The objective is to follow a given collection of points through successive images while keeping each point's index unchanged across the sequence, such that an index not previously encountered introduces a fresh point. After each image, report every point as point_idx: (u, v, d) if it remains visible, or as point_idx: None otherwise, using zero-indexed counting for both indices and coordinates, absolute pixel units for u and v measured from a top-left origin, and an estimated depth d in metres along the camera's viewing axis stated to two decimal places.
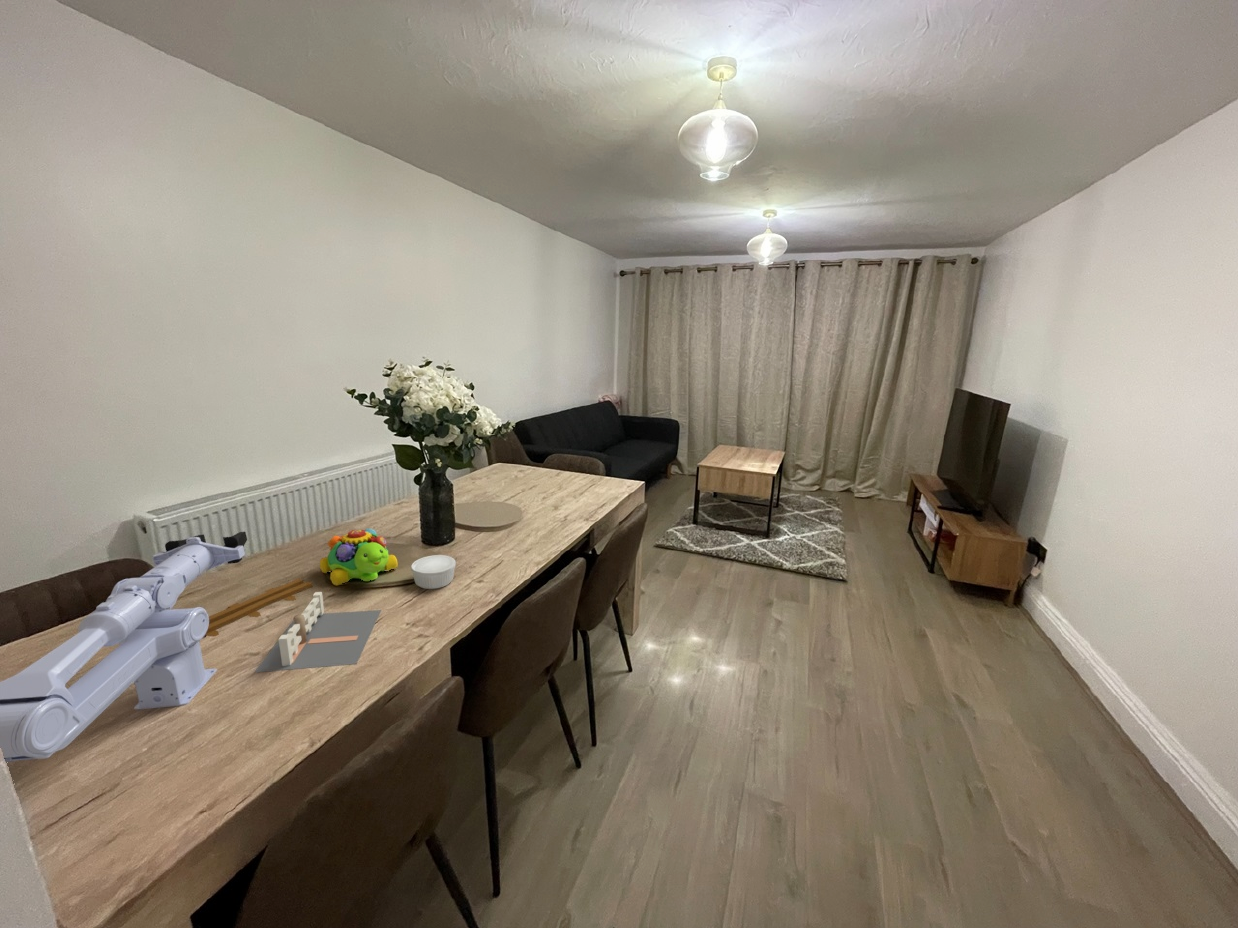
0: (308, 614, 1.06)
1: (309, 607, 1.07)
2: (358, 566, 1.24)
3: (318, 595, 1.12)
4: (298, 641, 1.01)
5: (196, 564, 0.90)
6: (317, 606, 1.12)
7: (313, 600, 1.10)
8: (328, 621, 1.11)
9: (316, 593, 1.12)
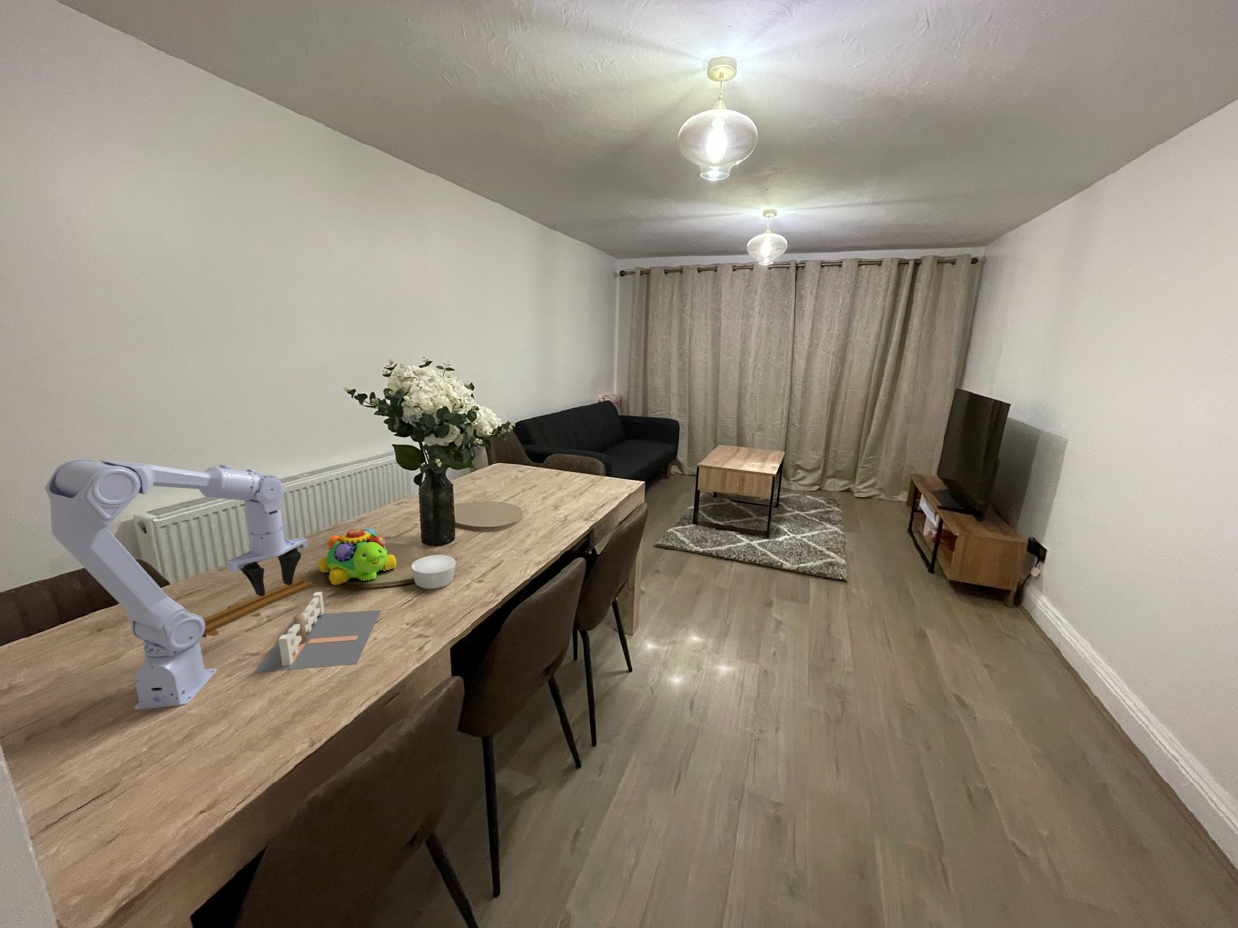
0: (308, 614, 1.06)
1: (309, 607, 1.07)
2: (357, 566, 1.24)
3: (318, 595, 1.12)
4: (298, 641, 1.01)
5: (279, 528, 1.01)
6: (317, 606, 1.12)
7: (313, 600, 1.10)
8: (328, 621, 1.11)
9: (316, 593, 1.12)
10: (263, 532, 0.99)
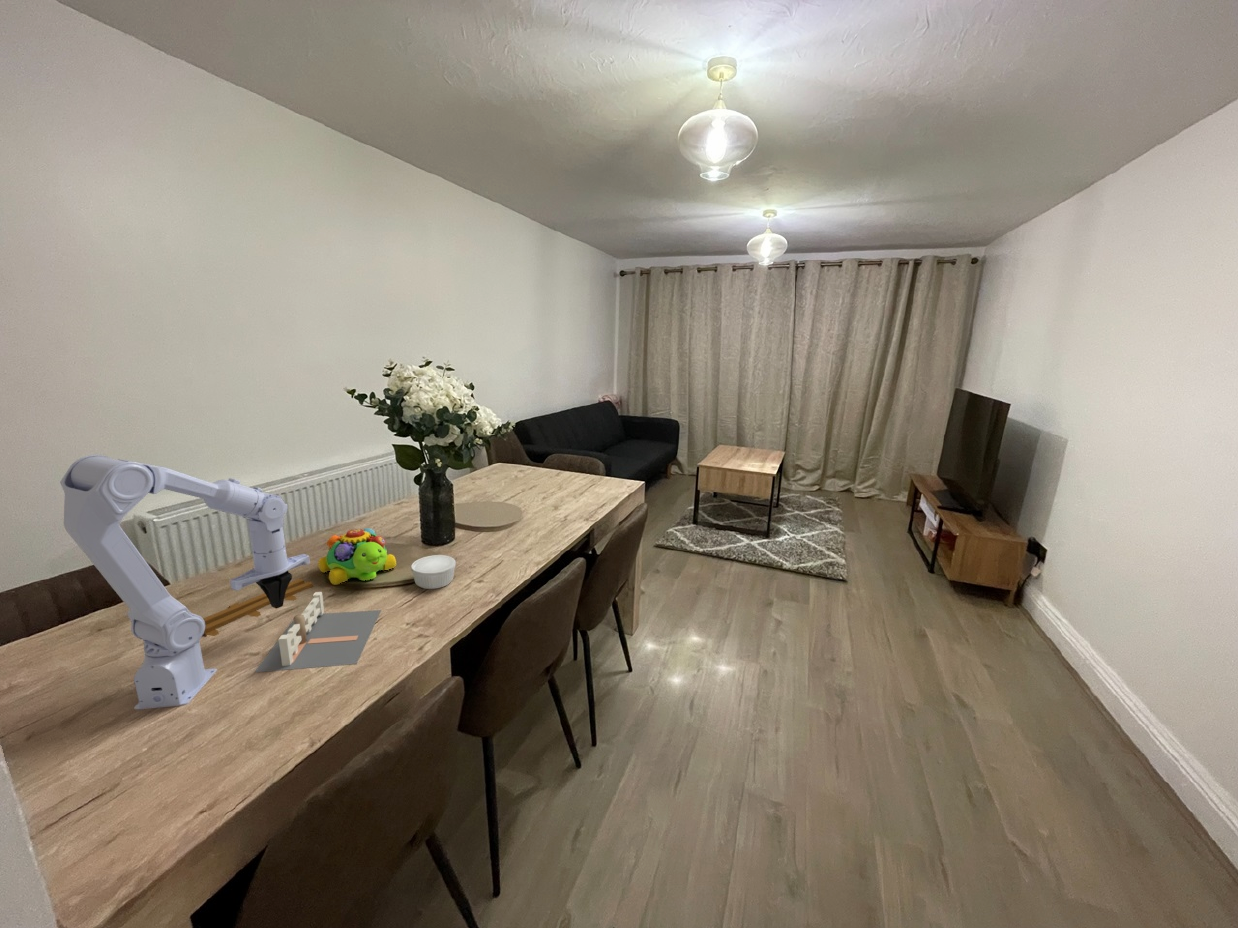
0: (308, 614, 1.06)
1: (309, 607, 1.07)
2: (356, 565, 1.24)
3: (318, 595, 1.12)
4: (298, 641, 1.01)
5: (282, 546, 1.02)
6: (317, 606, 1.12)
7: (313, 600, 1.10)
8: (328, 621, 1.11)
9: (316, 593, 1.12)
10: (266, 551, 1.00)
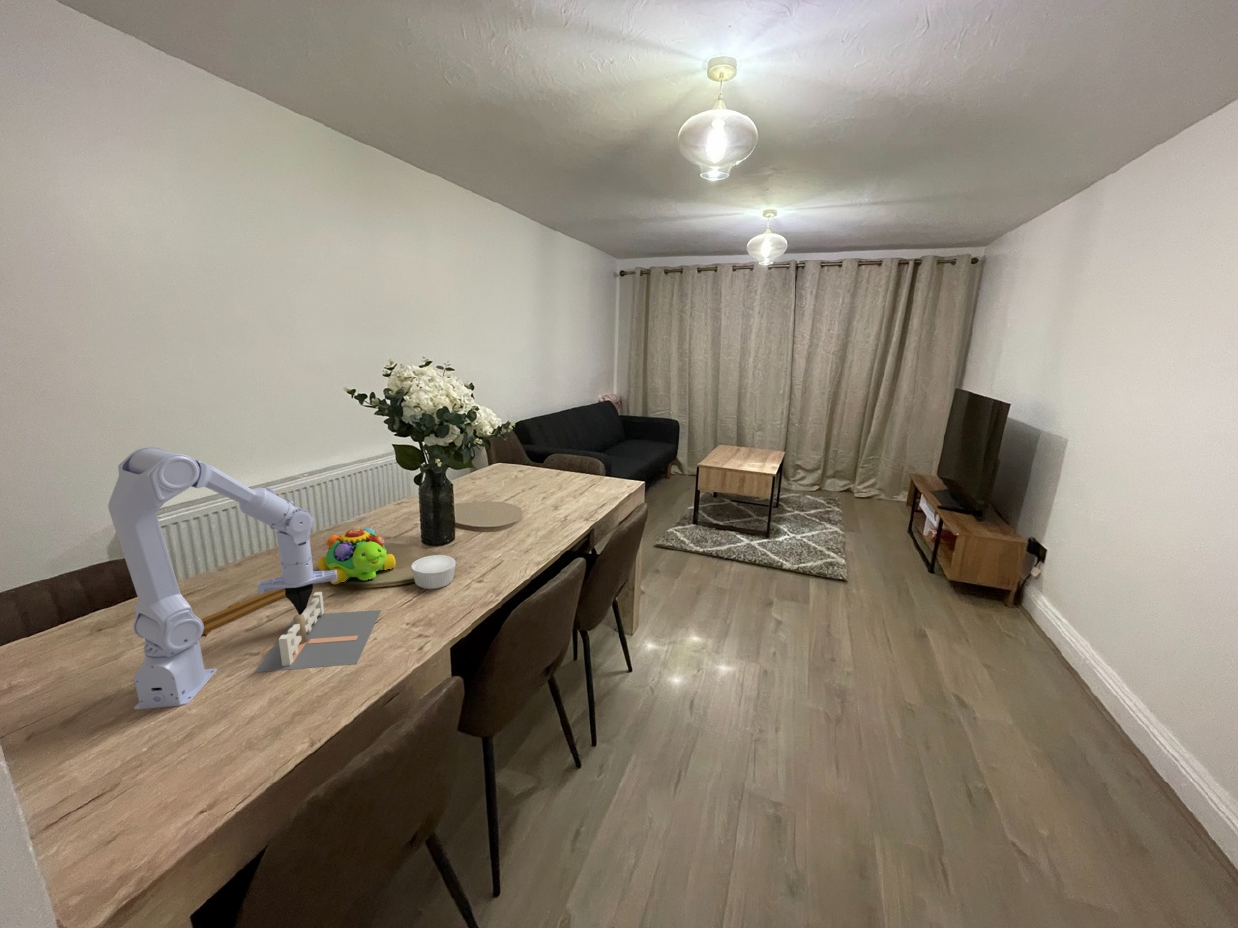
0: (308, 614, 1.06)
1: (309, 607, 1.07)
2: (356, 565, 1.24)
3: (318, 595, 1.12)
4: (298, 641, 1.01)
5: (308, 558, 1.06)
6: (317, 606, 1.12)
7: (313, 600, 1.10)
8: (328, 621, 1.11)
9: (316, 593, 1.12)
10: (292, 562, 1.04)
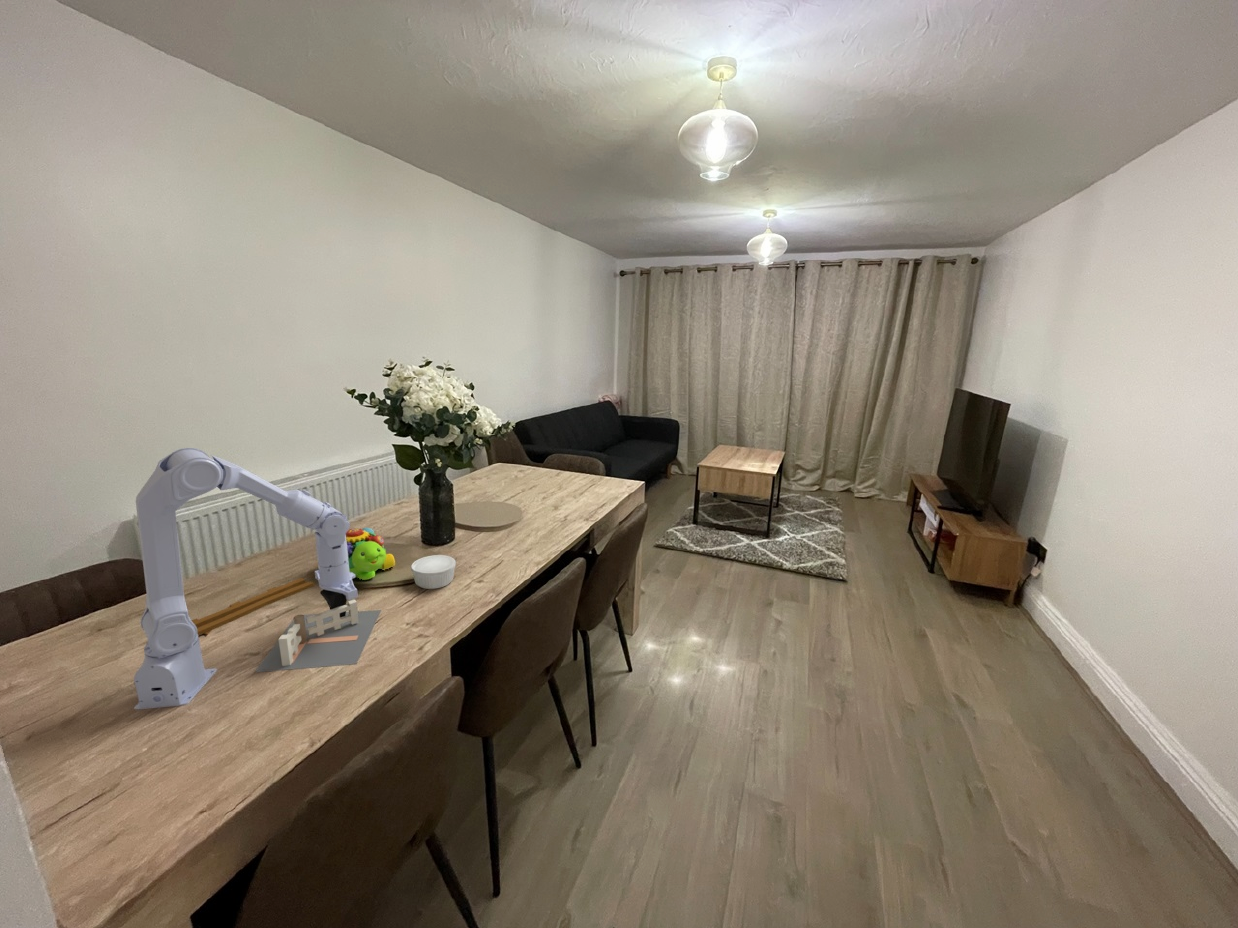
0: (318, 618, 1.05)
1: (327, 612, 1.06)
2: (355, 565, 1.24)
3: (350, 603, 1.09)
4: (298, 641, 1.01)
5: (342, 562, 1.05)
6: (350, 614, 1.10)
7: (341, 606, 1.08)
8: (328, 621, 1.11)
9: (352, 600, 1.10)
10: (326, 565, 1.03)
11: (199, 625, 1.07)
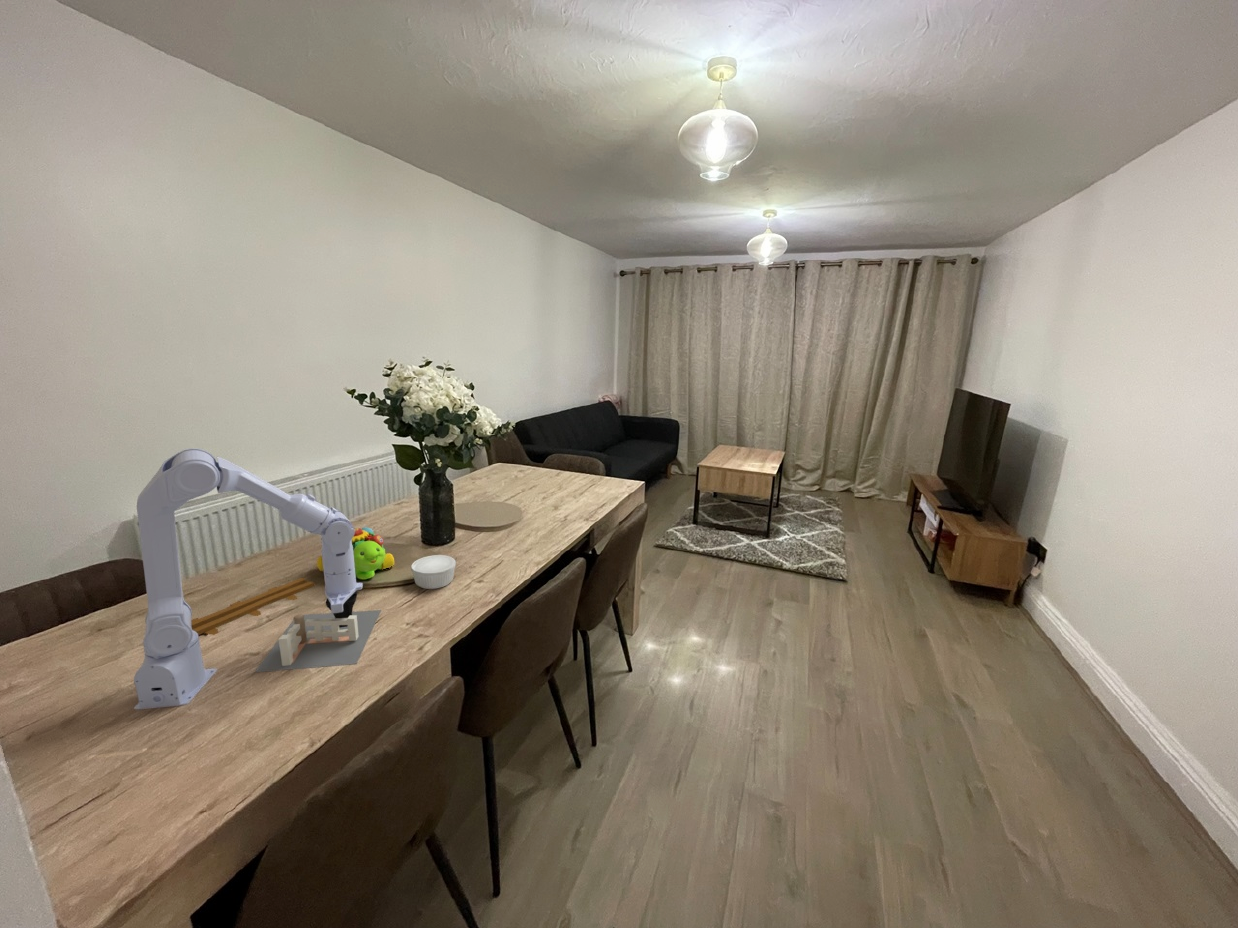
0: (315, 624, 1.03)
1: (325, 620, 1.03)
2: (355, 564, 1.24)
3: (348, 618, 1.03)
4: (298, 641, 1.01)
5: (347, 570, 1.02)
6: None
7: (341, 619, 1.04)
8: None
9: (353, 616, 1.04)
10: (330, 572, 1.01)
11: (199, 624, 1.07)
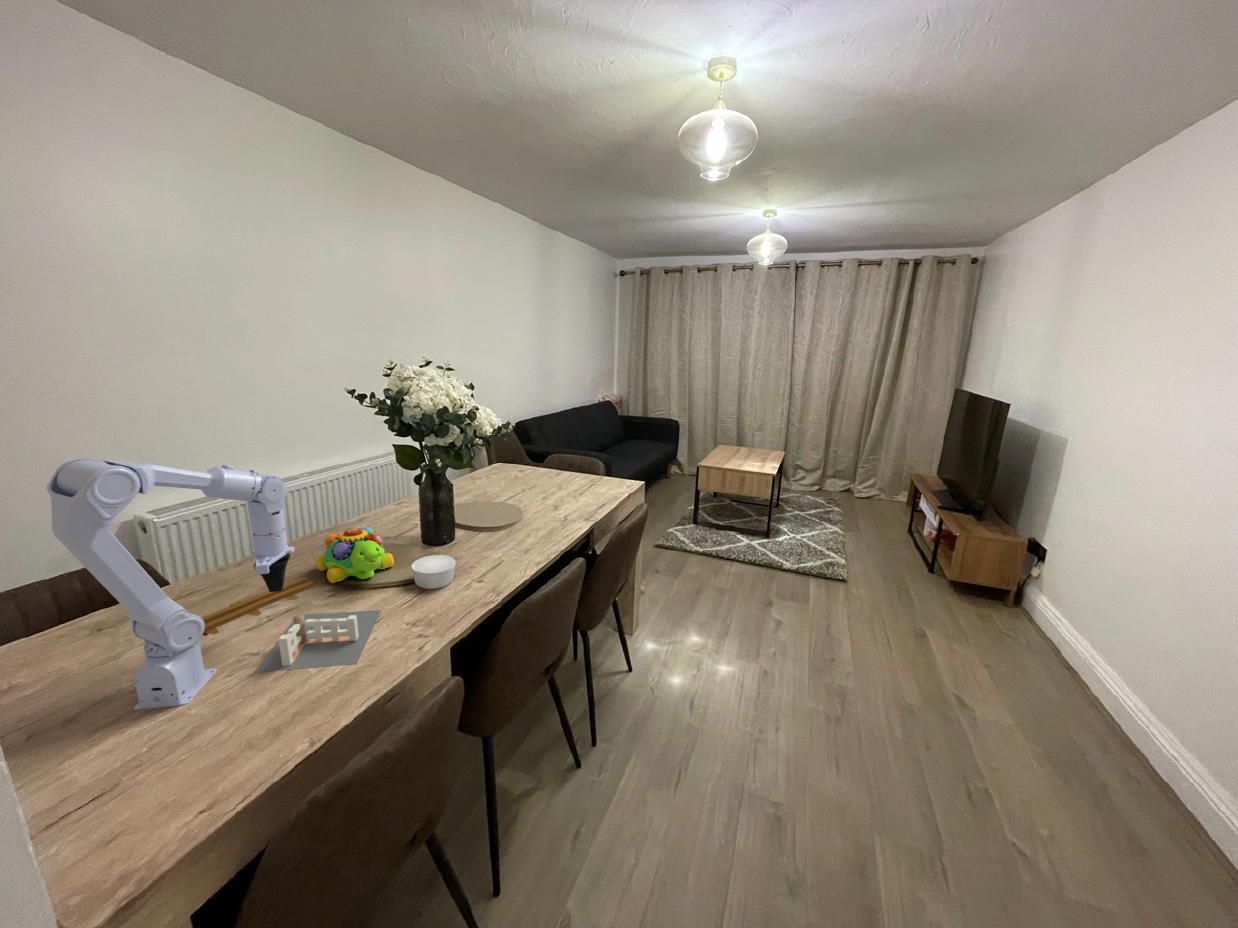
0: (315, 624, 1.03)
1: (325, 620, 1.03)
2: (354, 564, 1.25)
3: (348, 619, 1.03)
4: (298, 641, 1.01)
5: (281, 529, 1.01)
6: None
7: (341, 619, 1.04)
8: None
9: (353, 616, 1.04)
10: (265, 533, 0.99)
11: None
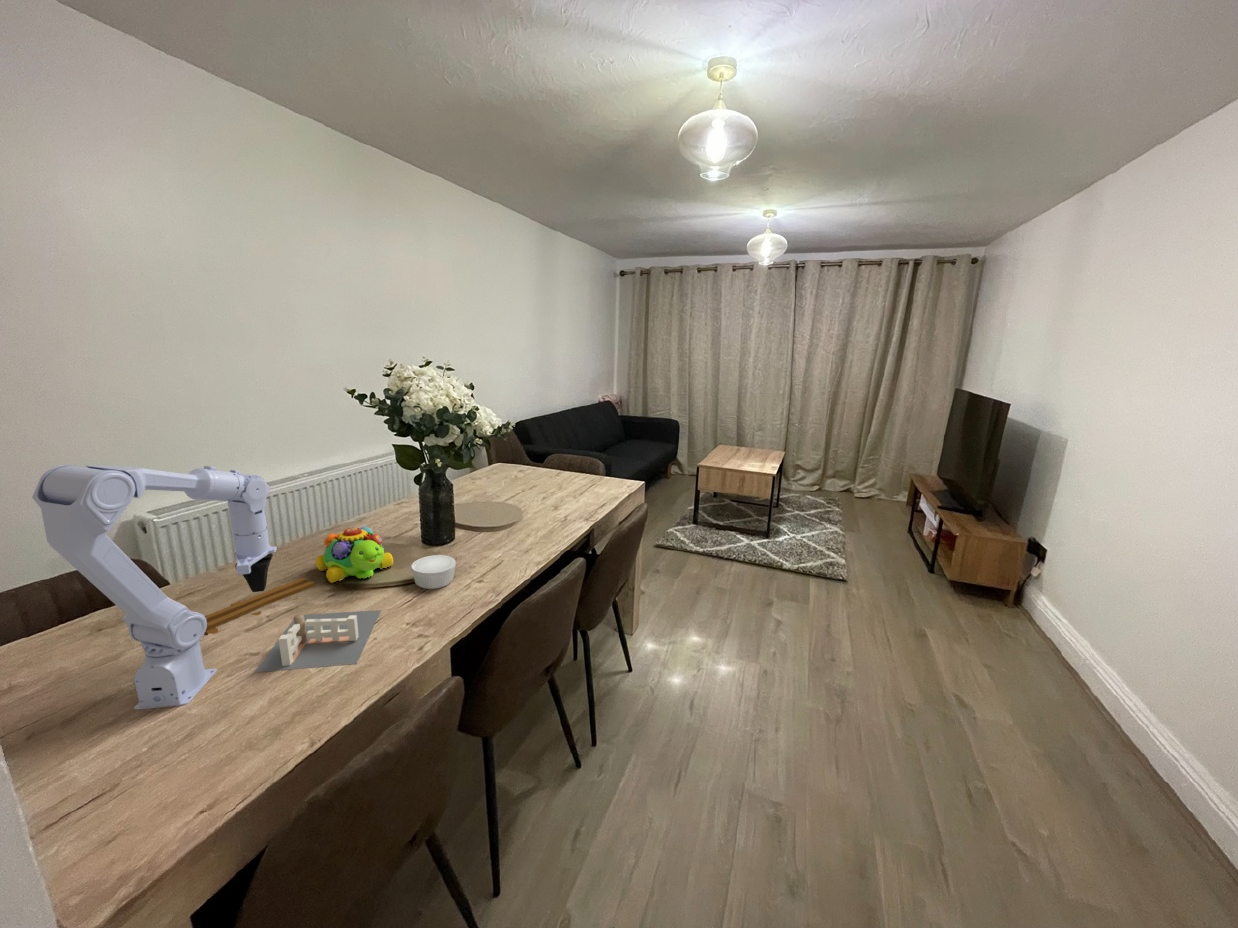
0: (315, 624, 1.03)
1: (325, 620, 1.03)
2: (354, 563, 1.25)
3: (348, 619, 1.03)
4: (298, 641, 1.01)
5: (264, 528, 1.01)
6: None
7: (341, 619, 1.04)
8: None
9: (353, 616, 1.04)
10: (249, 532, 0.98)
11: None
